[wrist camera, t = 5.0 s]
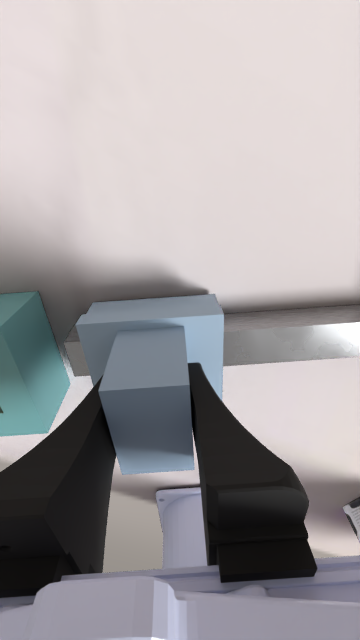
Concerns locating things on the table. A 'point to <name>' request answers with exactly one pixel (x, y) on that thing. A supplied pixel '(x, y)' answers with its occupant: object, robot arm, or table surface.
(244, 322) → the rail
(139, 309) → the carriage
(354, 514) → the candy box
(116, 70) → the table surface
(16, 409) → the teal button housing
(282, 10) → the table surface
